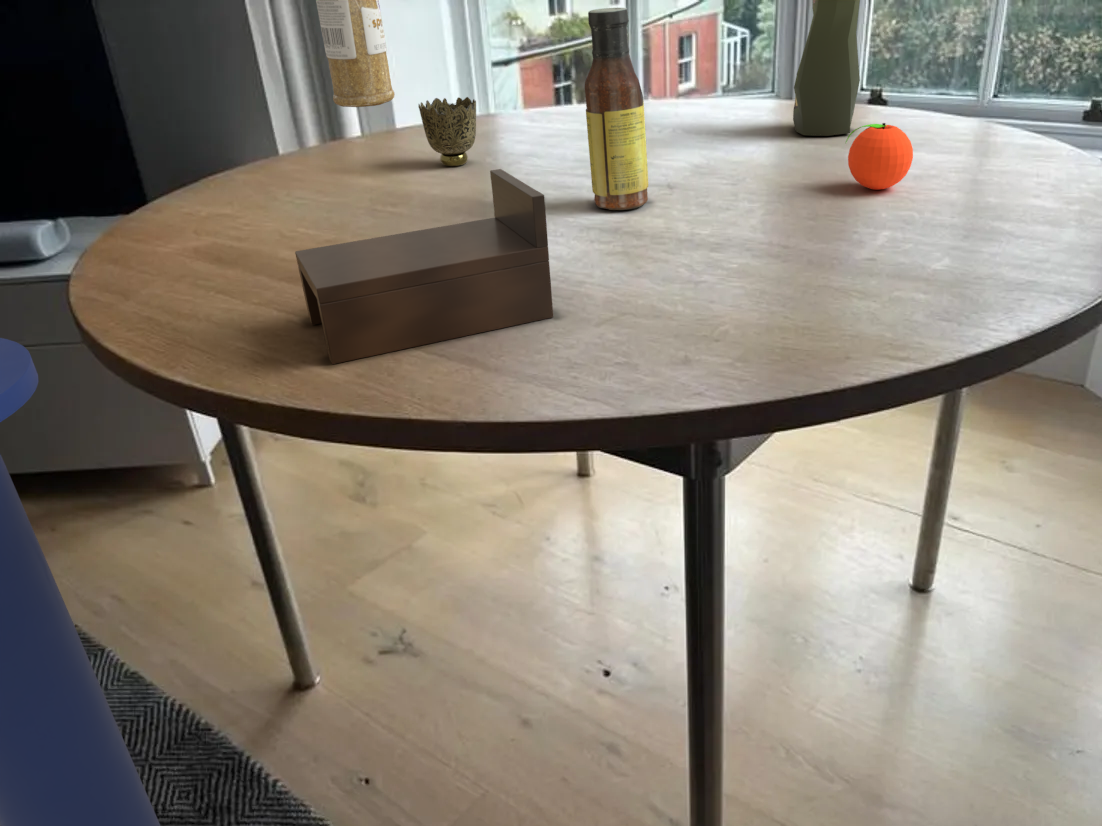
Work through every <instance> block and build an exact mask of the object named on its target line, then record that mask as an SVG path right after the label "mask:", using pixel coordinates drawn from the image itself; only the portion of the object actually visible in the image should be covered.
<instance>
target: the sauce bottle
mask: <svg viewBox="0 0 1102 826" xmlns="http://www.w3.org/2000/svg"><path fill="white" fill-rule="evenodd" d="M587 17H588V19H587V20H588V26H589V28H590V33H591V35H590V36H591V46H592V51H591V54H592V61H591V66H590V68H589V71H588V73H587V76H586V77H585V78H586V79H585V82H584V94H585V96H584V97H585V106H586V109H585V117H586V130H587V141H588V144H587V145H588V154H589V165H590V178H591V179H590V180H591V189H592V193H593V195H594V203H595V205H596V207H597V208H599V209H604V210H608V211H628V210H633V209H637V208H640V207H642V206H644V205H646V204H647V203H648V199H649V197H648V194H649V193H648V188H649V170H648V153H647V137H646V136H647V135H646V120H645V118H646V117H645V102H644V101H645V100H644V94H643V90H642V87H641V84H640V80H639V77H638V75H637V74H636V72H635V69H634V65H633V62H632V58H631V56H630V47H629V36H628V24H629V12H628V8H627V7H606V8H596V9H591V10H589V11H588V13H587Z"/></svg>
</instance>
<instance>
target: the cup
mask: <svg viewBox="0 0 1102 826" xmlns="http://www.w3.org/2000/svg"><path fill="white" fill-rule="evenodd" d="M447 100H448V99H447V98H446V97H443V99H442V100H441V99H440V98H438V97H435V98H434V99H433V101H432V102H430V101H429V100H428V99H427V100H426V101H425V104H424V103H423V102H422V101H421V102H420V103H418V110H419V114H420V118H421V123H422V127H423V130H424V134H425V137H426V141H427V142H428V145H429V146H430V148H431V149H432V150H433V151H435V153H438V154H440V157H439V161H440V163H441V164H442V165H443V166H445V167H461V166H463V165H465V164H466V163H467V162H468V159H469V156H468V153H467V152H468V151H469V150H471V149H472V147H473V145H474V143H475V141H476V135H477V100H475V98H473V100H471V98H470V97H469V96H466V97H465V98H464V99H462V97H459V96H458V97H457V99H455V101H456V102H455V103H453V102H451V103H449V102H448V101H447Z"/></svg>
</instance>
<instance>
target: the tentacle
mask: <svg viewBox="0 0 1102 826" xmlns="http://www.w3.org/2000/svg"><path fill="white" fill-rule="evenodd" d="M860 2H861V0H812V14H813V16H812V19H811V23H810V27H809V32H808V35H807V38H806V41H805V45H804V48H803V51H802V55H801V59H800V62H799V64H798V65H799V66H798V69H797V72H796V77H795V81H794V85H793V90H794V105H793V110H792V111H793V113H792V114H793V115H792V121H793V126H794V130H795V132H796V133H798V134H800V135H802V136H820V137H823V136H824V137H830V136H834V135H835V136H836V135H844V134H850V133H851V125H852V121H853V118H854V117H853V116H854V113H855V107H856V103H857V97H858V92H859V87H860V81H861V77H860V65H859V51H858V39H857V37H858V36H857V31H858V21H859V20H858V19H859V11H860Z"/></svg>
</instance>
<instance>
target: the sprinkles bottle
mask: <svg viewBox="0 0 1102 826" xmlns="http://www.w3.org/2000/svg"><path fill="white" fill-rule="evenodd" d="M315 2H316V3H315V4H316V8H317V9H316V10H317V14H318V19H319V25H320V30H321V35H322V40H323V46H324V51H325V55H326V59H327V61H328V67H329V73H330V77H331V84H332V89H333V90H332V91H333V95H332V100H333V102H334V104H335V105H337V106H340V107H344V108H365V107H366V108H367V107H376V106H380V105H383V104H385V103H388V102H391V101H393V100H394V99H395V91H394V90H393V87H392V79H391V75H390V68H389V60H388V55H387V42H386V37H385V30H384V25H383V18H382V12H381V5H380V0H315Z"/></svg>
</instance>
